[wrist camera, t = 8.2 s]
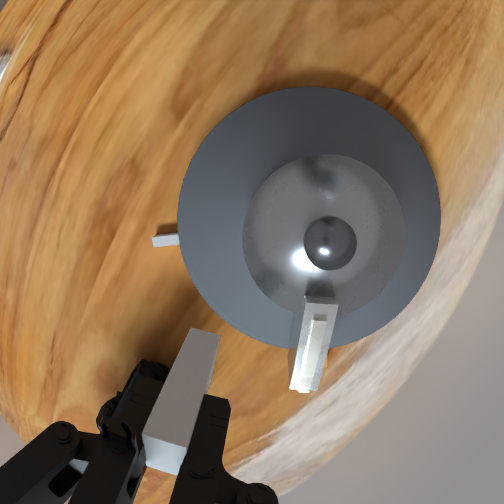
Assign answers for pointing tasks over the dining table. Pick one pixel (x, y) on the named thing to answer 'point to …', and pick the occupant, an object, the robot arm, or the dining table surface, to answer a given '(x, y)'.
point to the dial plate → (271, 159)
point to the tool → (118, 403)
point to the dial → (321, 249)
